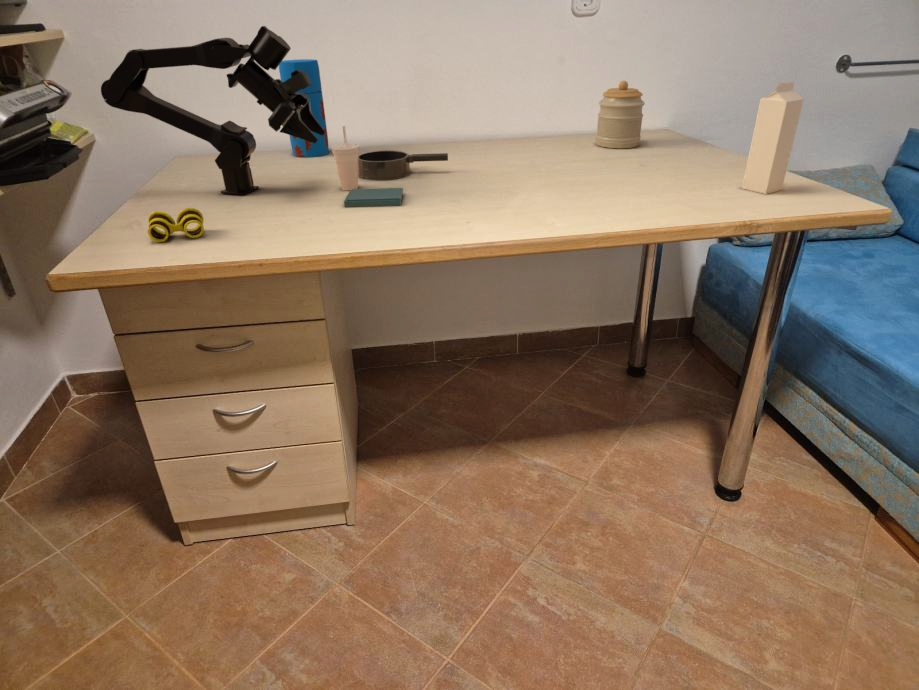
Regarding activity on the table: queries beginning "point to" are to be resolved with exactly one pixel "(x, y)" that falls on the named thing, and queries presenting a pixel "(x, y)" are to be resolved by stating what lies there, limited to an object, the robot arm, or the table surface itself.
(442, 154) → the pan handle
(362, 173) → the pan
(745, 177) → the milk
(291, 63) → the thermos
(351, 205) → the teal flat block
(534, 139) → the table surface
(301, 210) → the table surface
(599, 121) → the jar
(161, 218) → the opera glasses
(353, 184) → the smoothie
